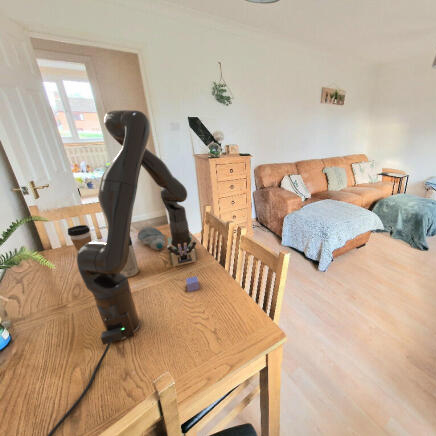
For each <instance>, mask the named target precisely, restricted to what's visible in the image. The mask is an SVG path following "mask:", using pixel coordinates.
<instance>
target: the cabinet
mask: <svg viewBox="0 0 436 436" xmlns="http://www.w3.org/2000/svg"><path fill="white" fill-rule="evenodd" d="M189 235H190V238H191V240H193V239H194V238H193V236H192V234H191V233H189ZM171 241H172V237H167V246H168V245H170V244H171ZM193 241H194V240H193ZM190 243H191V242H190ZM190 245H191V244H189V245H188V247H187V248H189V246H190ZM173 248H174V249H176V250H179V249H177V248H176V247H174V246H173ZM182 249H183V248H182ZM193 249H194V250H195V257H196V261H197V260H198V259H197V252H196V246H195V247H194V248H193ZM168 251H169V250H168ZM171 253H172V252H171V251H169V257H170V263H171V266H173V261H172V256H171Z"/></svg>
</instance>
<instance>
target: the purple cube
mask: <svg viewBox="0 0 436 436" xmlns="http://www.w3.org/2000/svg"><path fill="white" fill-rule="evenodd" d="M185 281H186V282H185V283H186V288H187V292H188V293H190V292H194V291H198V290H200V283H199V278H198V275H195V276H191V277H190V276H189V277H187V278H185Z"/></svg>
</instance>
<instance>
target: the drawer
mask: <svg viewBox="0 0 436 436" xmlns="http://www.w3.org/2000/svg"><path fill="white" fill-rule="evenodd" d="M187 249H188V248H187ZM177 251H179V250H177ZM195 251H196V249H195V250H194V249H193V250H192V251H191V252H190V253H188V254H187V259H184V260H181V257H180V255H175V254H174V253H171V256H172V261H173V265H172V266H173V267H177V266H181V265H187V264H190V263H195V262H197V260H196V259H197V256H196V257H195ZM182 252H183V253H184V251H183V249H182Z"/></svg>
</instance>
